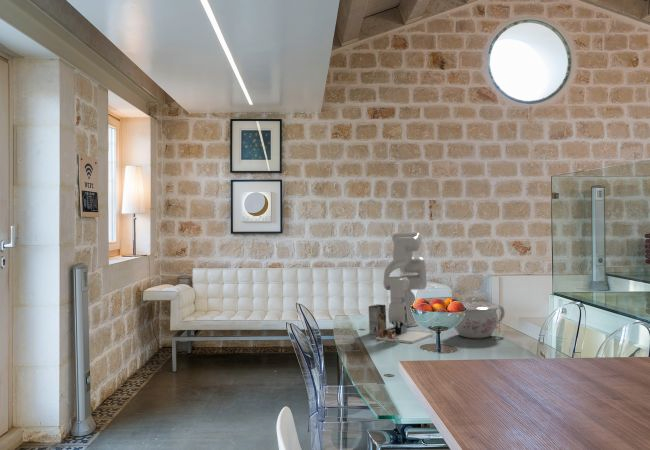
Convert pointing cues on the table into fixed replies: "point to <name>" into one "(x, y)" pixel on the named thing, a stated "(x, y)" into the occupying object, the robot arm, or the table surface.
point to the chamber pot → (479, 319)
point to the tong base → (384, 333)
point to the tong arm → (392, 332)
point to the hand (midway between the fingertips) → (398, 334)
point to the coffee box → (377, 318)
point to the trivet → (408, 337)
